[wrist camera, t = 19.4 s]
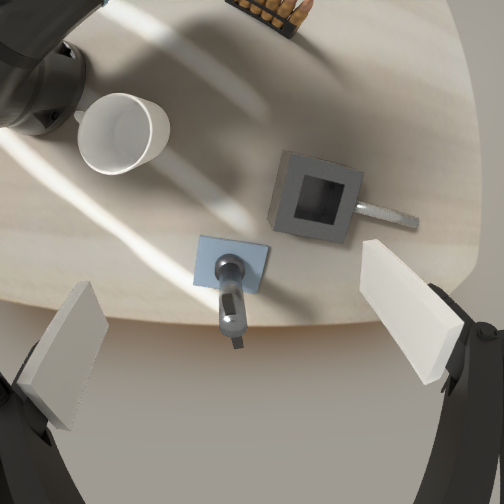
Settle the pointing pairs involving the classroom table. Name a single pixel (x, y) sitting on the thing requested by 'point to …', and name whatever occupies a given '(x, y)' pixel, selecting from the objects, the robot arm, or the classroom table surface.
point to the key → (231, 297)
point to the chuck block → (321, 199)
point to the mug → (121, 133)
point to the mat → (217, 247)
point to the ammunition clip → (276, 13)
